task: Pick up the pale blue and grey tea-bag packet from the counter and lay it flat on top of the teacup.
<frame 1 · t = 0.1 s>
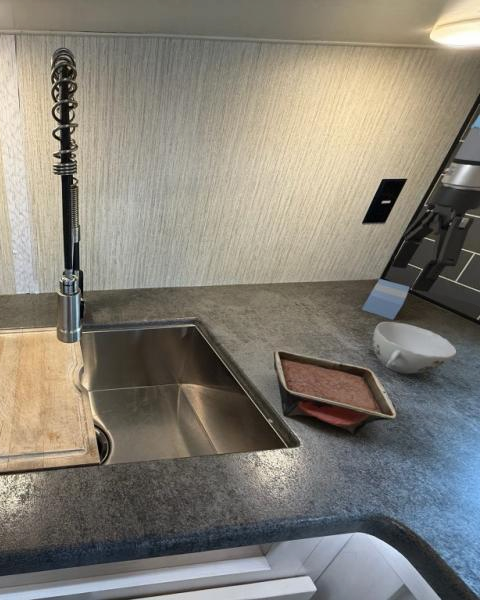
hand: (407, 277, 76), 15 cm above the worktop, tool pointing down, fingers open, 13 cm apart
tea packet: (381, 305, 93), on the worktop
baking dish: (314, 404, 61), on the worktop
teacup: (392, 367, 70), on the worktop
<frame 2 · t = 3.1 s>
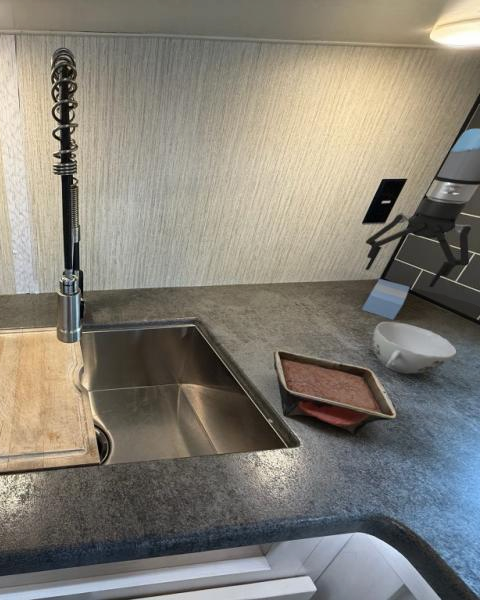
hand: (397, 276, 88), 10 cm above the worktop, tool pointing down, fingers open, 13 cm apart
nothing on the worktop moved.
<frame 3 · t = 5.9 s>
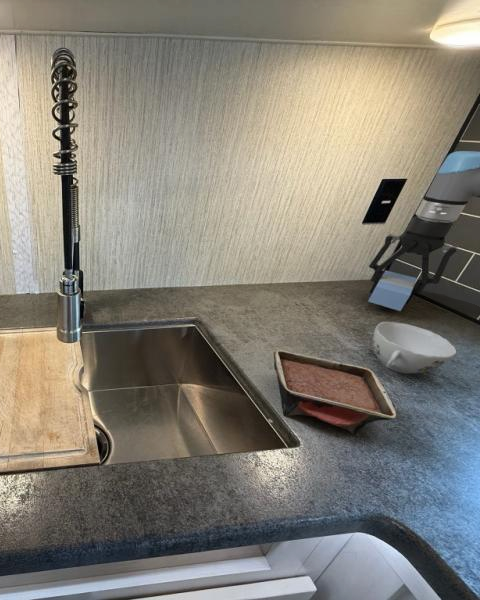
hand: (388, 296, 91), 3 cm above the worktop, tool pointing down, fingers closed on tea packet, 7 cm apart
tea packet: (388, 297, 91), point 3 cm above the worktop, touching gripper
everything else where it was.
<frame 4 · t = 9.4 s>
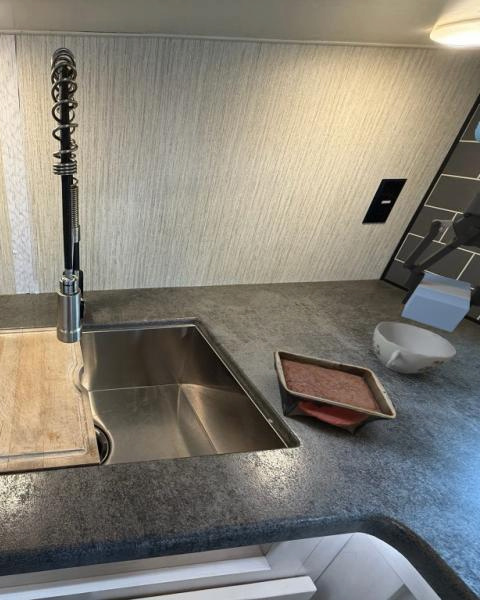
hand: (429, 309, 63), 15 cm above the worktop, tool pointing down, fingers closed on tea packet, 7 cm apart
tea packet: (429, 310, 63), point 15 cm above the worktop, touching gripper
everything else where it was.
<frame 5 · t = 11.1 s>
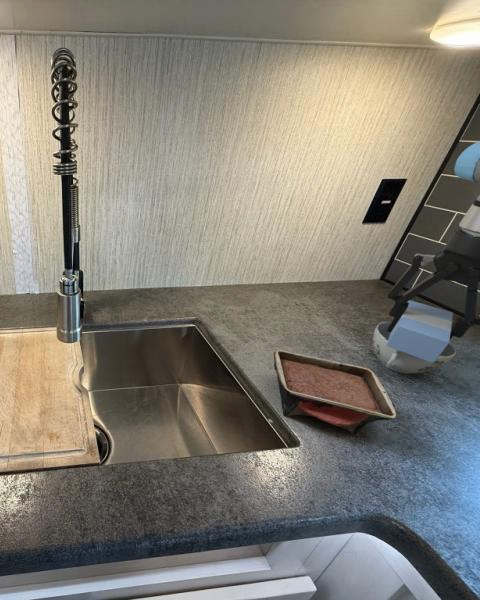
hand: (413, 337, 66), 8 cm above the worktop, tool pointing down, fingers closed on tea packet, 7 cm apart
tea packet: (413, 338, 66), point 8 cm above the worktop, touching gripper
everything else where it was.
when the fingers open (8 cm above the worktop, at t = 13.5 s): tea packet stays where it is, resting on teacup.
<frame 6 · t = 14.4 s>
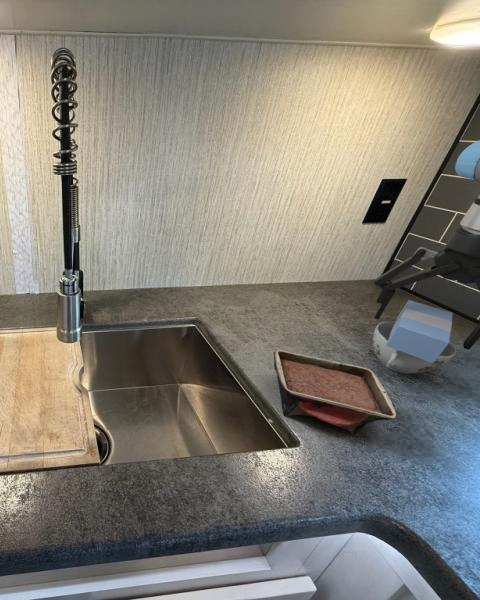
hand: (418, 330, 65), 10 cm above the worktop, tool pointing down, fingers open, 13 cm apart
tea packet: (413, 338, 66), point 8 cm above the worktop, touching teacup
teacup: (392, 367, 70), on the worktop, touching tea packet
everything else where it was.
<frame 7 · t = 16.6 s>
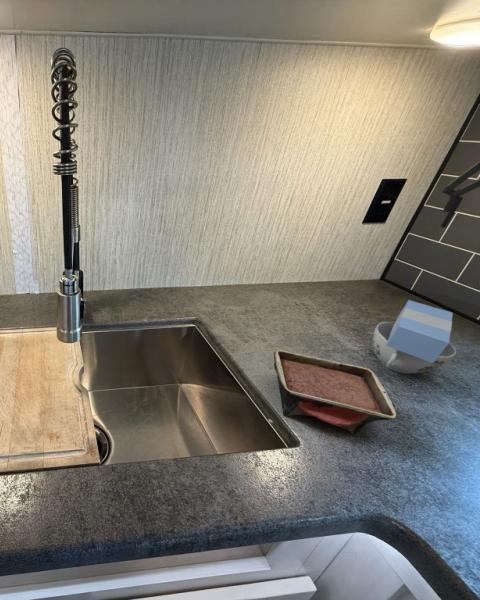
nothing on the worktop moved.
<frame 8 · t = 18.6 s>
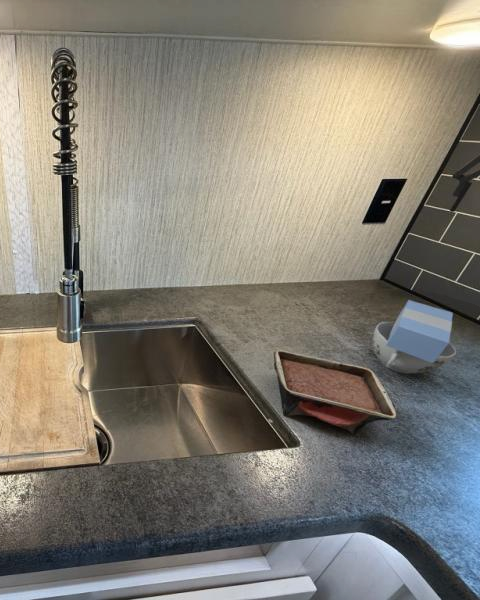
nothing on the worktop moved.
at the end: tea packet inside the target area on the teacup (0.1 cm from its centre), point 8.3 cm above the teacup's base; tea packet tilted 0°; the gripper is holding nothing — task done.
